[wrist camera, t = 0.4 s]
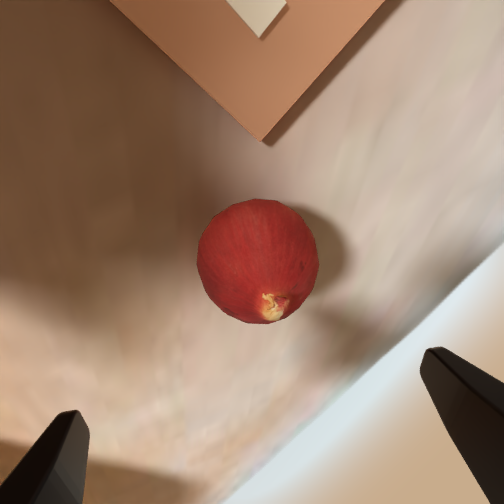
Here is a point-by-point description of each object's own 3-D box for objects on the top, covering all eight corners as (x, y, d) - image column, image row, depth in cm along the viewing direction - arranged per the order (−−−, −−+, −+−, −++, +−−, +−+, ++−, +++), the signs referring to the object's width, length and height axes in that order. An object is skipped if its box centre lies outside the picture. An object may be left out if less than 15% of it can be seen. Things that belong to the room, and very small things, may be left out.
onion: (300, 253, 21) (353, 350, 14) (212, 277, 21) (223, 387, 14) (286, 165, 18) (344, 236, 11) (182, 193, 18) (178, 282, 11)
